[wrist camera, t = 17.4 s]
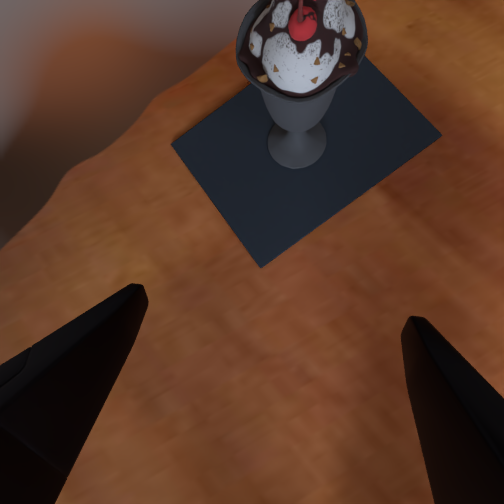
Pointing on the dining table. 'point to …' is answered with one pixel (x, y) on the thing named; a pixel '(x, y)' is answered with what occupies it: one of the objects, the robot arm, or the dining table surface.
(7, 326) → the dining table surface
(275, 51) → the sundae
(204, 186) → the dark blue rectangular panel
